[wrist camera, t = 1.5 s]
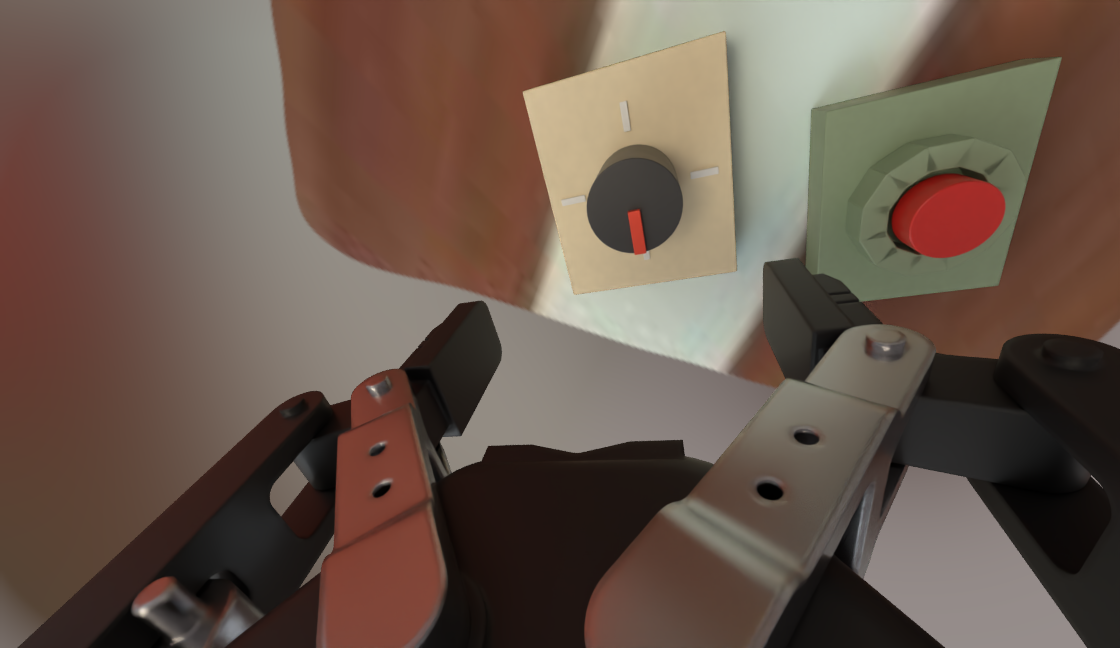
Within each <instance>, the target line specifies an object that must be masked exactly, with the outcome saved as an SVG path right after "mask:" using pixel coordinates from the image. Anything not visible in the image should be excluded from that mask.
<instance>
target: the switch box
mask: <svg viewBox="0 0 1120 648" xmlns="http://www.w3.org/2000/svg"><path fill="white" fill-rule="evenodd" d="M1061 59H1062V58H1061V57H1049V58H1032V59H1021V60H1017V61H1012V62H1008V63H1004V64H1000V65H995V66H991V67H987V68H983V69H978V70H974V71H970V72H966V73H962V74H957V75H953V76H949V77H945V78H940V79H936V80H932V81H928V82H923V83H919V84H915V85H911V86H907V87H902V88H898V89H894V90H890V91H885V92H881V93H877V94H873V95H868V96H864V97H860V98H856V99H851V100H847V101H843V102H839V103H835V104H830V105H826V106H822V107H818V108H813V109H812V110H811V136H810V162H809V189H808V216H807V242H806V268H807V269H808V270H809V272H810V273H811V274H812V275H814V274H822V273H823V274H826V275H828V276H831V277H833V278H835V279H838V280H840V281H842V282H843V283H844V284H845V285H846V286H847V287H848V288H849V289H850V291H851V293H853V294H854V295H855V296H856V297H857V298H858V299H859V302H861V301H870V300H879V299H887V298H896V297H904V296H913V295H921V294H930V293H939V292H947V291H956V290H964V289H973V288H981V287H990V286H998V285H999V281H1000V278H1001V274H1002V271H1003V267H1004V263H1005V260H1006V256H1007V253H1008V249H1009V245H1010V242H1011V238H1012V235H1013V231H1014V228H1015V224H1016V220H1017V217H1018V213H1019V210H1020V206H1021V202H1022V199H1023V195H1024V192H1025V188H1026V185H1027V181H1028V177H1029V174H1030V170H1031V167H1032V163H1033V159H1034V156H1035V152H1036V149H1037V145H1038V141H1039V138H1040V134H1041V131H1042V127H1043V123H1044V120H1045V116H1046V113H1047V109H1048V105H1049V102H1050V98H1051V95H1052V91H1053V88H1054V84H1055V80H1056V77H1057V73H1058V70H1059V66H1060V62H1061ZM950 173H954V174H961V175H965V176H968V177H971V178H975V179H978V180H981V181H985V182H988V183H990V184H993V185H994V186H996V187H997V188H998V189H999V190H1000V191H1001V193H1002V194H1003V196H1004V199H1005V204H1006V209H1005V214H1004V217H1003V220H1002V222H1001V224H1000V225H999V227H998V228H997V230H996V231H995V232H994V233H993V235H992V236H991V237H990V238H989V239H987V240H986V241H985V242H984V243H982V244H981V245H979V246H978V247H976V248H974V249H973V250H971V251H969V252H966V253H964V254H961V255H958V256H954V257H948V258H933V257H928V256H925V255H922V254H920V253H919V252H917V251H916V250H914V249H912V248H911V247H909V246H908V245H906V244H905V243H903V242H901V241H900V240H899V239H898V238H897V237H896V236H895V234H894V232H893V229H892V215H893V212H894V209H895V207H896V205H897V203H898V202H899V200H900V199H901V198H902V197H903V195H904V194H905V193H906V192H907V191H909V190H910V189H911V188H912V187H914V186H915V185H917V184H918V183H920V182H922V181H923V180H926V179H928V178H931V177H933V176H937V175H941V174H950Z"/></svg>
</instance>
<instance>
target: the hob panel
mask: <svg viewBox="0 0 1120 648" xmlns="http://www.w3.org/2000/svg"><path fill="white" fill-rule="evenodd" d="M523 95H524V99H525V103H526V107H527V111H528V115H529V119H530V123H531V127H532V131H533V135H534V139H535V143H536V147H537V151H538V155H539V159H540V162H541V166H542V170H543V174H544V178H545V182H546V186H547V190H548V194H549V198H550V202H551V206H552V210H553V214H554V218H555V222H556V226H557V230H558V234H559V238H560V242H561V245H562V249H563V253H564V257H565V261H566V265H567V269H568V273H569V277H570V281H571V285H572V289H573V293H574V295H577V294H584V293H591V292H597V291H604V290H611V289H618V288H625V287H632V286H639V285H646V284H653V283H660V282H666V281H673V280H680V279H687V278H694V277H701V276H708V275H715V274H722V273H729V272H735V271H737V261H736V239H735V217H734V196H733V174H732V153H731V131H730V109H729V88H728V66H727V44H726V32H725V31H723V32H720V33H716V34H713V35H710V36H706V37H703V38H700V39H696V40H693V41H690V42H686V43H683V44H680V45H676V46H673V47H669V48H666V49H663V50H659V51H656V52H653V53H649V54H646V55H643V56H639V57H636V58H633V59H629V60H626V61H623V62H619V63H616V64H613V65H609V66H606V67H603V68H599V69H596V70H593V71H589V72H586V73H583V74H579V75H576V76H572V77H569V78H566V79H562V80H559V81H556V82H552V83H549V84H546V85H542V86H539V87H536V88H532V89H529V90H526V91H523ZM637 144H642V145H648V146H652V147H654V148H657V149H658V150H660V151H661V152H663V153H664V154H665V155H666V156H667V157H668V158H669V159H670V161H671V162H672V164H673V166H674V168H675V171H676V174H677V178H678V181H679V184H680V188H681V191H682V196H683V212H682V216H681V219H680V222H679V224H678V226H677V228H676V230H675V231H674V232H673V234H672V235H671V236H670V237H669V238H668V239H667V240H666V241H665V242H664V243H663V244H661V245H660V246H658V247H656V248H654V249H652V250H649V251H646V253H645V254H639V255H635V254H634V253H624V252H620V251H616V250H614V249H612V248H610V247H608V246H607V245H605V244H604V243H603V242H602V241H600V240H599V239H598V237H597V236H596V235H595V234H594V232H593V230H592V229H591V226H590V224H589V221H588V217H587V198H588V194H589V191H590V189H591V186H592V184H593V183H594V181H595V179H596V177H597V175H598V173H599V171H600V170H601V168H602V166H603V164H604V163H605V161H606V160H607V159H608V158H609V157H610V156H611V155H612V154H613V153H615V152H616V151H618V150H619V149H621V148H624V147H626V146H630V145H637Z"/></svg>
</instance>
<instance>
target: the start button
mask: <svg viewBox="0 0 1120 648" xmlns="http://www.w3.org/2000/svg"><path fill="white" fill-rule="evenodd" d="M1005 209H1006V204H1005V199H1004V196H1003V194H1002V193H1001V191H1000V190H999V189H998V188H997V187H996V186H994V185H993V184H990V183H988V182H985V181H981V180H978V179H975V178H971V177H968V176H965V175H961V174H954V173H950V174H941V175H937V176H933V177H931V178H928V179H926V180H923V181H922V182H920V183H918V184H917V185H915V186H914V187H912V188H911V189H910V190H909V191H907V192H906V193H905V194H904V195H903V197H902V198H901V199H900V200H899V202H898V203H897V205H896V207H895V209H894V212H893V215H892V229H893V232H894V234H895V236H896V237H897V238H898V239H899V240H900V241H901V242H903V243H905V244H906V245H908V246H909V247H911V248H912V249H914V250H916V251H917V252H919V253H920V254H922V255H925V256H928V257H933V258H948V257H954V256H958V255H961V254H964V253H966V252H969V251H971V250H973V249H974V248H976V247H978V246H979V245H981V244H982V243H984V242H985V241H986V240H987V239H989V238H990V237H991V236H992V235H993V233H994V232H995V231H996V230H997V228H998V227H999V225H1000V224H1001V222H1002V220H1003V217H1004V214H1005Z"/></svg>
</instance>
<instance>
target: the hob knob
mask: <svg viewBox="0 0 1120 648" xmlns="http://www.w3.org/2000/svg"><path fill="white" fill-rule="evenodd" d="M682 212H683V196H682V191H681V188H680V184H679V181H678V178H677V174H676V171H675V168H674V166H673V164H672V162H671V161H670V159H669V158H668V157H667V156H666V155H665V154H664V153H663V152H661V151H660V150H658V149H657V148H654V147H652V146H648V145H642V144H637V145H630V146H626V147H624V148H621V149H619V150H618V151H616V152H615V153H613V154H612V155H611V156H610V157H609V158H608V159H607V160H606V161H605V163H604V164H603V166H602V168H601V170H600V171H599V173H598V175H597V177H596V179H595V181H594V183H593V184H592V186H591V189H590V191H589V194H588V198H587V217H588V221H589V224H590V226H591V229H592V230H593V232H594V234H595V235H596V236H597V237H598V239H599V240H600V241H602V242H603V243H604V244H605V245H607V246H608V247H610V248H612V249H614V250H616V251H620V252H624V253H634V254H635V255H639V254H645V253H646V251H649V250H652V249H654V248H656V247H658V246H660V245H661V244H663V243H664V242H665V241H666V240H667V239H668V238H669V237H670V236H671V235H672V234H673V232H674V231H675V230H676V228H677V226H678V224H679V222H680V219H681V216H682Z"/></svg>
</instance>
